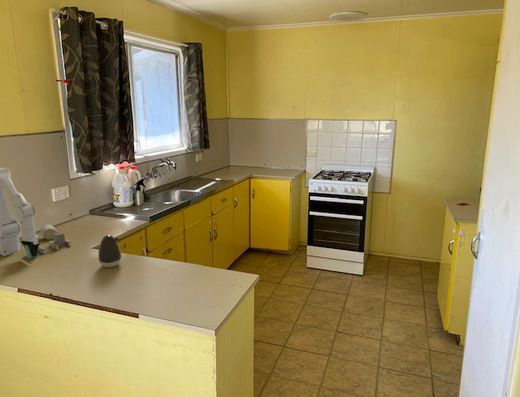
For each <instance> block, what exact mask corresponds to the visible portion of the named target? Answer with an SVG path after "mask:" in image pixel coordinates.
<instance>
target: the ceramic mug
mask: <svg viewBox="0 0 520 397" xmlns="http://www.w3.org/2000/svg"><path fill="white" fill-rule="evenodd" d="M39 233H40V235H41V236H42V238H44V239H45V240H48V241H50V240H54V238H53V234H55V233H59V231H57V229H56V228H55V227H54V226H53V225H51V224H44V225H43V226H41V227H40V230H39Z"/></svg>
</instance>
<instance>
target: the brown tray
mask: <svg viewBox="0 0 520 397" xmlns="http://www.w3.org/2000/svg"><path fill="white" fill-rule="evenodd" d="M65 244H66V246H64V247H60V248H59V246H58V245H57V244H55V243H54V241H50V240H49V241H48V246H46V247H42V246H40V245H39V247H38V253H41V254H43V255H45V254H49V253H52V252H55V251H56V252H57V251H59V250H62V249H66V248H69V247H72V240H68V239H66V238H65Z"/></svg>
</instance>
